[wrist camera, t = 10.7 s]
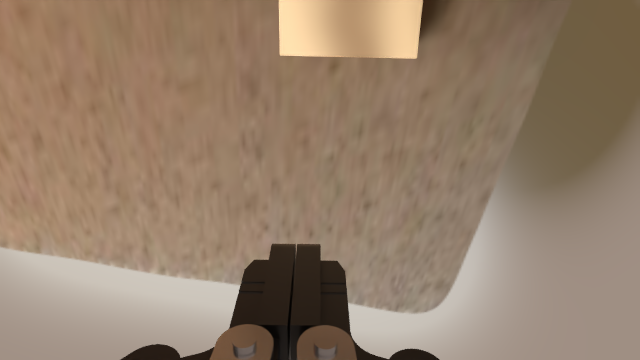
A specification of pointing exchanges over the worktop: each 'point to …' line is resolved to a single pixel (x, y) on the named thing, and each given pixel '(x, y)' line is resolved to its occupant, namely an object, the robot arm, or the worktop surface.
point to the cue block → (350, 28)
